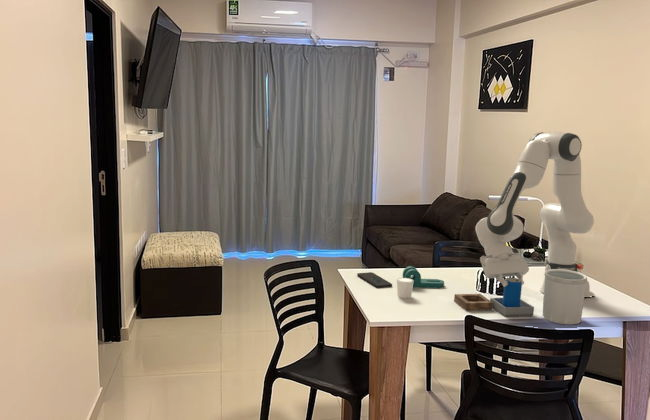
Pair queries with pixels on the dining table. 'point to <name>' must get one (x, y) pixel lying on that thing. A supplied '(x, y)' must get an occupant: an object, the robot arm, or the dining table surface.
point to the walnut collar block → (473, 302)
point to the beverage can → (512, 293)
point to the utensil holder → (563, 296)
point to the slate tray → (512, 308)
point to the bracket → (421, 282)
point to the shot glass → (404, 287)
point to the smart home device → (374, 280)
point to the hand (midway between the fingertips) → (514, 285)
